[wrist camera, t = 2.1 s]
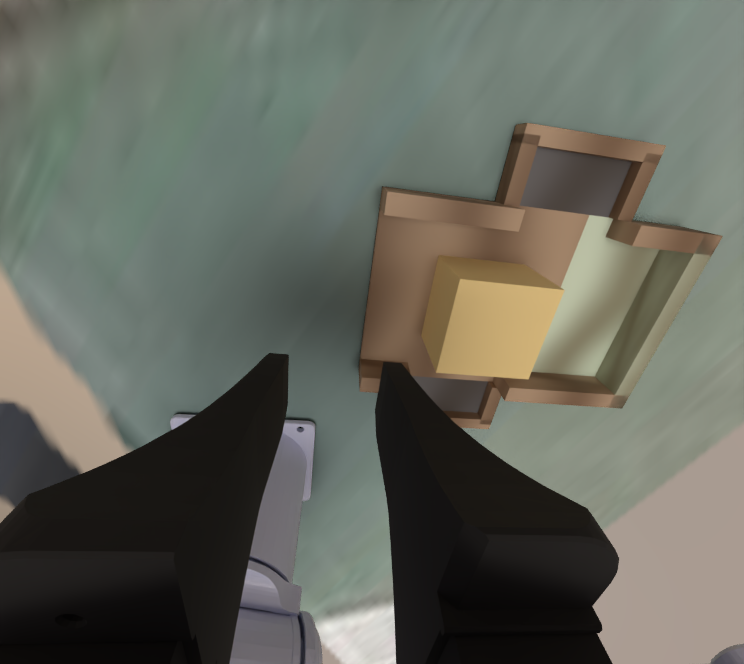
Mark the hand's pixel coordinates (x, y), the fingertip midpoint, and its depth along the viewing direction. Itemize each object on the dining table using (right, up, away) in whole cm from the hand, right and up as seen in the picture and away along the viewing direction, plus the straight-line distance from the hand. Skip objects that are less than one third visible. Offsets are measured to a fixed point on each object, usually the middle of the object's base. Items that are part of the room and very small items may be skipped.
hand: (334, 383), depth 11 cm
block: (+7, +3, +9) cm, 12 cm away
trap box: (+10, +3, +9) cm, 14 cm away
